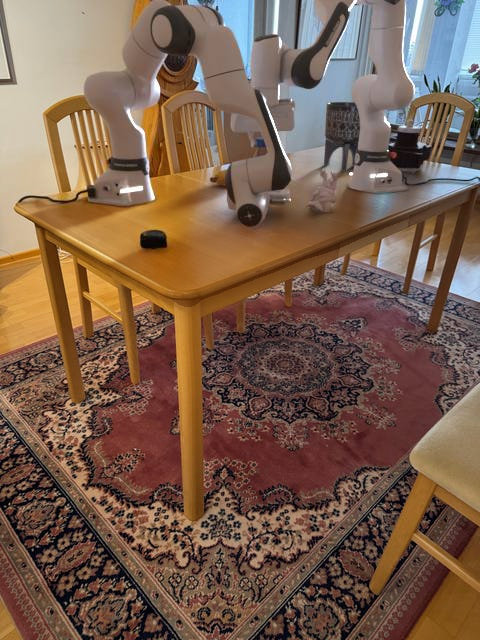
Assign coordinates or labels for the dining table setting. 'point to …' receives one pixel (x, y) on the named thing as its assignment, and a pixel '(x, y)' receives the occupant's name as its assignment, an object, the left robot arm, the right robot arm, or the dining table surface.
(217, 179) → the toy
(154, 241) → the tape measure
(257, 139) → the cap
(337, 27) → the right robot arm
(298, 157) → the dining table surface
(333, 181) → the figurine
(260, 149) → the bottle
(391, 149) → the mechanical component
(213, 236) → the dining table surface
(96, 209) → the dining table surface
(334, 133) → the planter
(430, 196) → the dining table surface
